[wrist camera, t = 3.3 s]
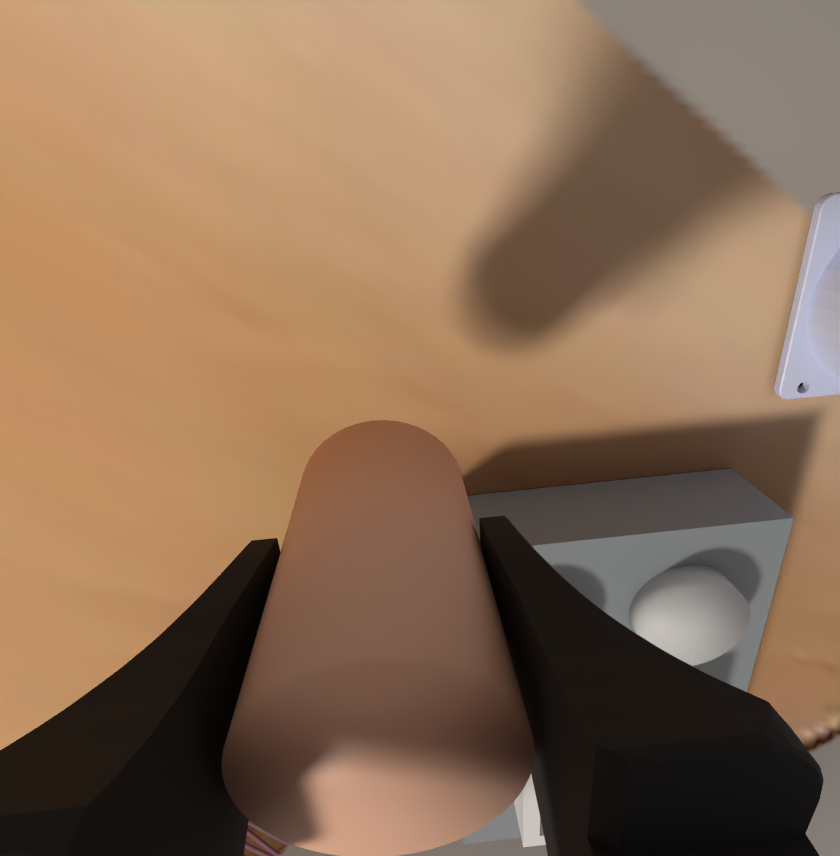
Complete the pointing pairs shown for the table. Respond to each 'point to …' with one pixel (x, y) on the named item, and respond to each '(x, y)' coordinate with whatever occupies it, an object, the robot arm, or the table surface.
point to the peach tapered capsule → (379, 661)
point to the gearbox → (655, 573)
